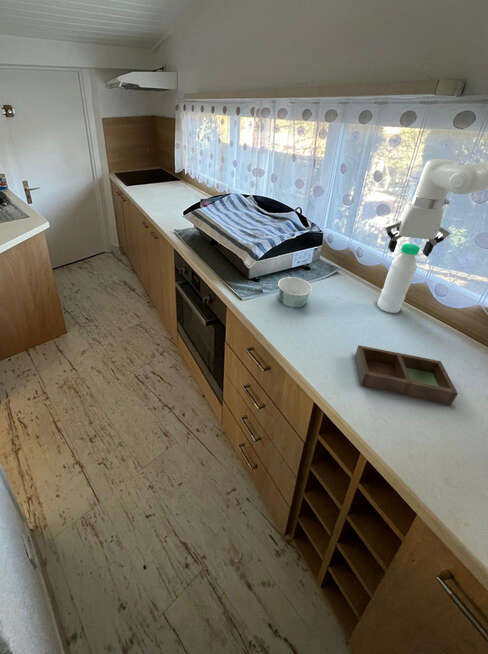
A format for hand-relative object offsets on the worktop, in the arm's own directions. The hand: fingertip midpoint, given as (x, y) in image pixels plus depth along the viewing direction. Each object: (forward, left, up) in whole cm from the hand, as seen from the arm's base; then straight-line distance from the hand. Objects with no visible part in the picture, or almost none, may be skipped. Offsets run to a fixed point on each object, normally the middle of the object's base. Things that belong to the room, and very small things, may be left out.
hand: (407, 252), depth 99 cm
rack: (+5, +34, -22) cm, 41 cm away
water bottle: (0, 0, -23) cm, 23 cm away
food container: (+33, +5, -23) cm, 40 cm away
